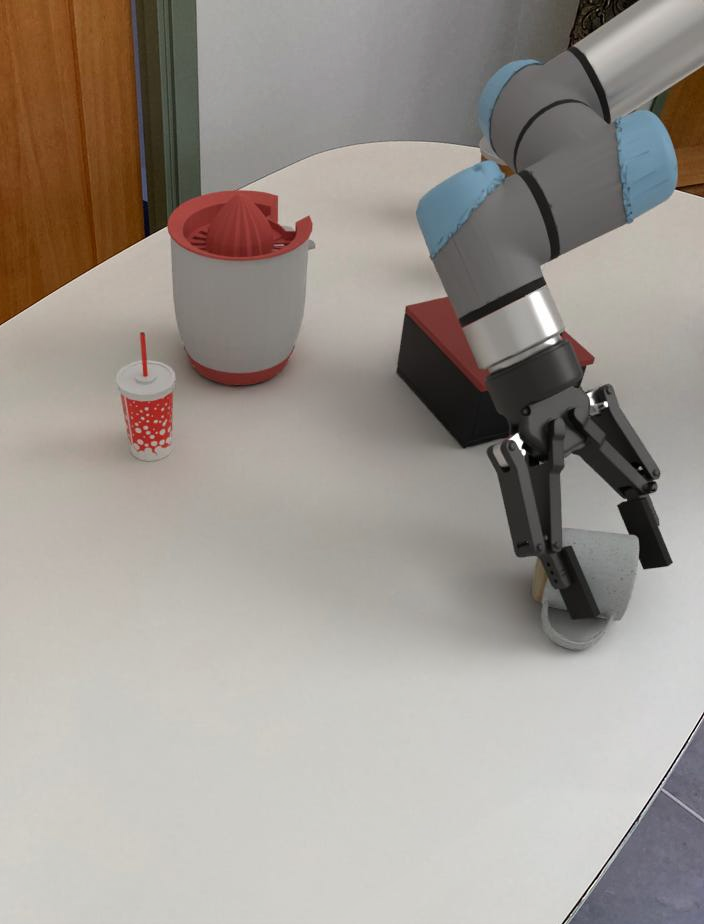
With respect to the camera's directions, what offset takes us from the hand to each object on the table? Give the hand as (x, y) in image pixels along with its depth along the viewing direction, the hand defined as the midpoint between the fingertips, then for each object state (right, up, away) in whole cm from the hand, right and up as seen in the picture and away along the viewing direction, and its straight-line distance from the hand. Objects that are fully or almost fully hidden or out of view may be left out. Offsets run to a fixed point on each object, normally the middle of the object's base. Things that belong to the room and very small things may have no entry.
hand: (622, 590), depth 87 cm
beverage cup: (-43, +16, +20) cm, 51 cm away
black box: (-6, +24, +26) cm, 36 cm away
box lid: (-6, +29, +20) cm, 35 cm away
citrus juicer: (-33, +30, +32) cm, 54 cm away
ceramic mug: (-3, -2, +4) cm, 5 cm away
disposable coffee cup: (+4, +55, +54) cm, 77 cm away
